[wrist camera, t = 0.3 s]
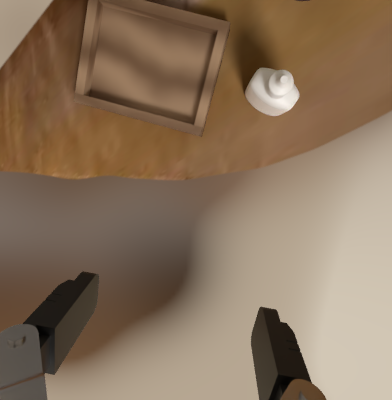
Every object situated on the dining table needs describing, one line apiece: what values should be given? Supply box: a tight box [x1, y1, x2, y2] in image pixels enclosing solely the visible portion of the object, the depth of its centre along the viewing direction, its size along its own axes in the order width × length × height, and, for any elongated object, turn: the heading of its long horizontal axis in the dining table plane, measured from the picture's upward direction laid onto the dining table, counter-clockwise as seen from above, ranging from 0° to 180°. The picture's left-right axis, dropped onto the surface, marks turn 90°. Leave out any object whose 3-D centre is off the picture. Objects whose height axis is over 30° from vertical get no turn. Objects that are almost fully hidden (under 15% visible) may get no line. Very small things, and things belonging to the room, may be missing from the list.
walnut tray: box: [74, 0, 230, 137], centre depth 36 cm, size 14×18×2 cm
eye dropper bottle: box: [245, 68, 299, 116], centre depth 31 cm, size 4×6×12 cm
